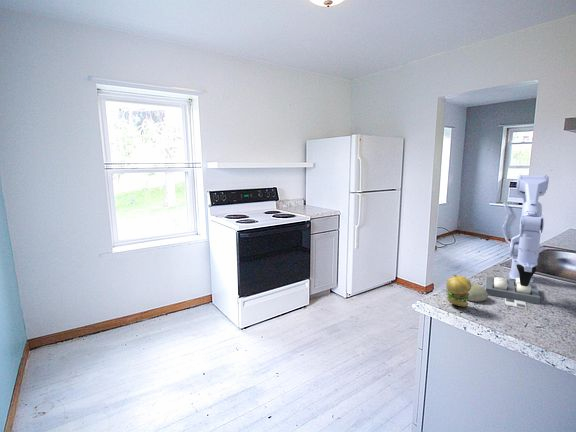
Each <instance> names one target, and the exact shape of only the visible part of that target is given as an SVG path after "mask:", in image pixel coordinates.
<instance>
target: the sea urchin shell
mask: <svg viewBox="0 0 576 432" xmlns="http://www.w3.org/2000/svg"><path fill="white" fill-rule="evenodd" d="M468 293H469V295H468V298H469V299H468V300H467V301H470V302H473V303H474V302H476V303H477V302H484V301H487V300H488V297H489V295H488V294H487V291H486V288H484V287H482V286H481V285H479V284H475V283H471V289H470V291H468Z"/></svg>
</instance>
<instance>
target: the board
mask: <svg viewBox="0 0 576 432" xmlns="http://www.w3.org/2000/svg"><path fill="white" fill-rule="evenodd" d="M494 278H495V277H493V276H487V277H486V283H485V290H486V291H487V294H488V296H492V297H496V298H497V297H498V298H503V299H505V298H507V299H512V300H518V301H523V302H526V303H529V304H530V303H531V304H537V305H540V304H541V303H540V302H541V297H540V293H539V289H538V287H537V284H536V283H531V282H529V285H530V286H531V293H530V295H529V294H523V293H518V292H516V288H517V286H515V283H516V280H512V279H506V278H505V279H506V280H507V282H508V285H507V291H506V290H501V289H495V288H494Z"/></svg>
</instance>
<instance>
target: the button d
mask: <svg viewBox="0 0 576 432" xmlns="http://www.w3.org/2000/svg"><path fill="white" fill-rule="evenodd" d="M516 292H518V293H523V294H529V295H530V293H531V286H530V285H528V286H522V285H521V284H520V283H518V284H517V288H516Z"/></svg>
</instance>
